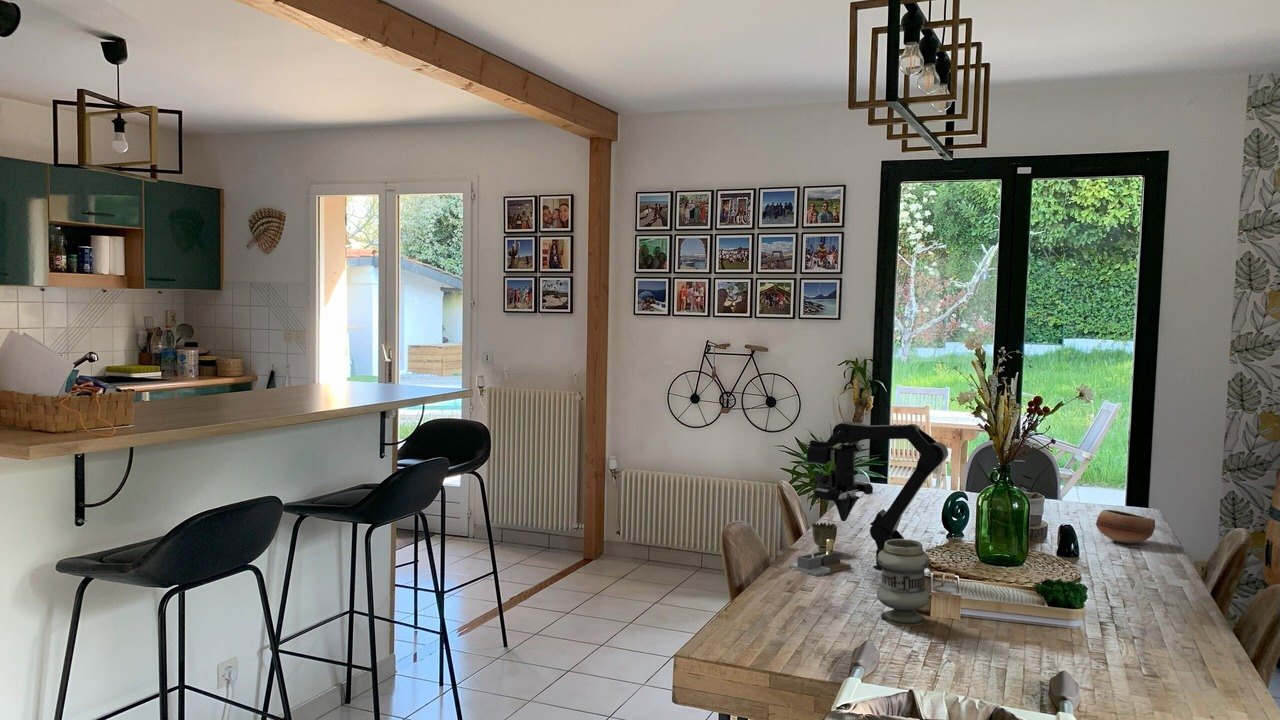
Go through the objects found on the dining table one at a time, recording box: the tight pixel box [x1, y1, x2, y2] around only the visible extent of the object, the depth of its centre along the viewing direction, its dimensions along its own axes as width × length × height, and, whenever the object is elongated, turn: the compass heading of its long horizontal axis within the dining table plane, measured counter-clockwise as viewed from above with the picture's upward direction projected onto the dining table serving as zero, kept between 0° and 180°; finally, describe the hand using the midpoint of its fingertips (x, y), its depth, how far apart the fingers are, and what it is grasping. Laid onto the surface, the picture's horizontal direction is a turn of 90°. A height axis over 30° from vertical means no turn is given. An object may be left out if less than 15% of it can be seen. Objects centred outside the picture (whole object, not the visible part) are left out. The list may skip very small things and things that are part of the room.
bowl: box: [1095, 509, 1156, 544], centre depth 296 cm, size 16×16×10 cm
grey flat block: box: [813, 551, 852, 573], centre depth 266 cm, size 10×8×4 cm
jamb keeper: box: [788, 553, 831, 576], centre depth 262 cm, size 10×6×4 cm, turn 37°
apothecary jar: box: [876, 538, 931, 627], centre depth 220 cm, size 12×12×18 cm
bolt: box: [813, 539, 835, 565], centre depth 266 cm, size 2×6×6 cm, turn 127°
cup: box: [811, 522, 838, 552], centre depth 283 cm, size 8×7×8 cm
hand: (843, 520), depth 270 cm, fingers closed
